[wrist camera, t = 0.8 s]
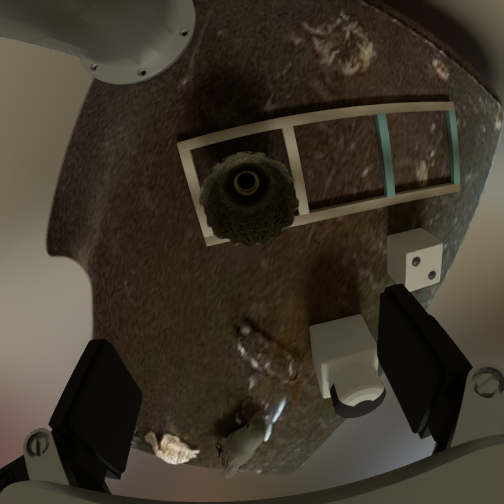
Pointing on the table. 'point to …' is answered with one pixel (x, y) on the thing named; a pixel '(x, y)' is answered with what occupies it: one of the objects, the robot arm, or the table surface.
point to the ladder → (295, 166)
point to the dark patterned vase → (249, 198)
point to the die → (414, 258)
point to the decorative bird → (242, 445)
